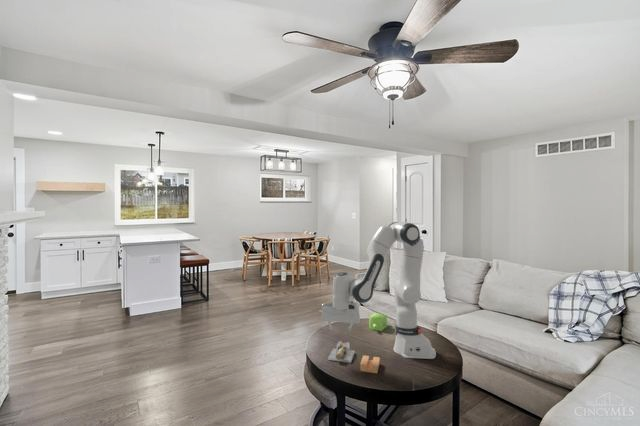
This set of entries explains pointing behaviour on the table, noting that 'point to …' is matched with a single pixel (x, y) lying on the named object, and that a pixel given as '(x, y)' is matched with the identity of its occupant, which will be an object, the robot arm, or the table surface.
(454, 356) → the table surface
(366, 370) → the orange grooved block
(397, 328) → the robot arm
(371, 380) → the table surface
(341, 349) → the axle
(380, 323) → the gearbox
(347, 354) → the block
